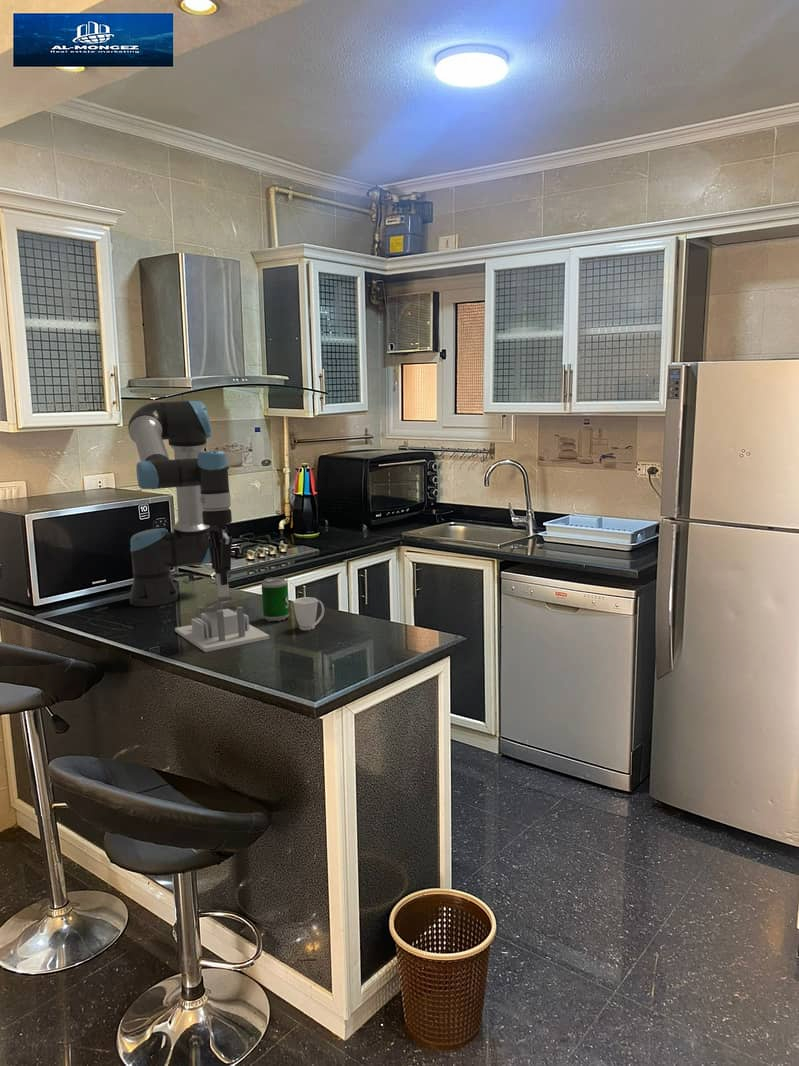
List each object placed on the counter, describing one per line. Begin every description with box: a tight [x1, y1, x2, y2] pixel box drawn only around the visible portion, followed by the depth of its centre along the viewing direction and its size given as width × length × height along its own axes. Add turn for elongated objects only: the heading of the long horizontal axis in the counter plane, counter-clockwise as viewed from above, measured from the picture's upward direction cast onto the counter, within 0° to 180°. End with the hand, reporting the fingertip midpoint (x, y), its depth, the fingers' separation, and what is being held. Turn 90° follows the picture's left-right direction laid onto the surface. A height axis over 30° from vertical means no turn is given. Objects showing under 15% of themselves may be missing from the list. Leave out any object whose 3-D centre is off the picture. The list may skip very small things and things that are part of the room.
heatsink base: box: [174, 603, 270, 653], centre depth 216 cm, size 24×18×9 cm
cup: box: [292, 597, 325, 631], centre depth 221 cm, size 7×10×8 cm
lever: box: [204, 595, 233, 609], centre depth 216 cm, size 14×3×2 cm, turn 33°
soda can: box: [261, 576, 290, 622], centre depth 230 cm, size 8×8×12 cm
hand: (223, 596), depth 212 cm, fingers closed
